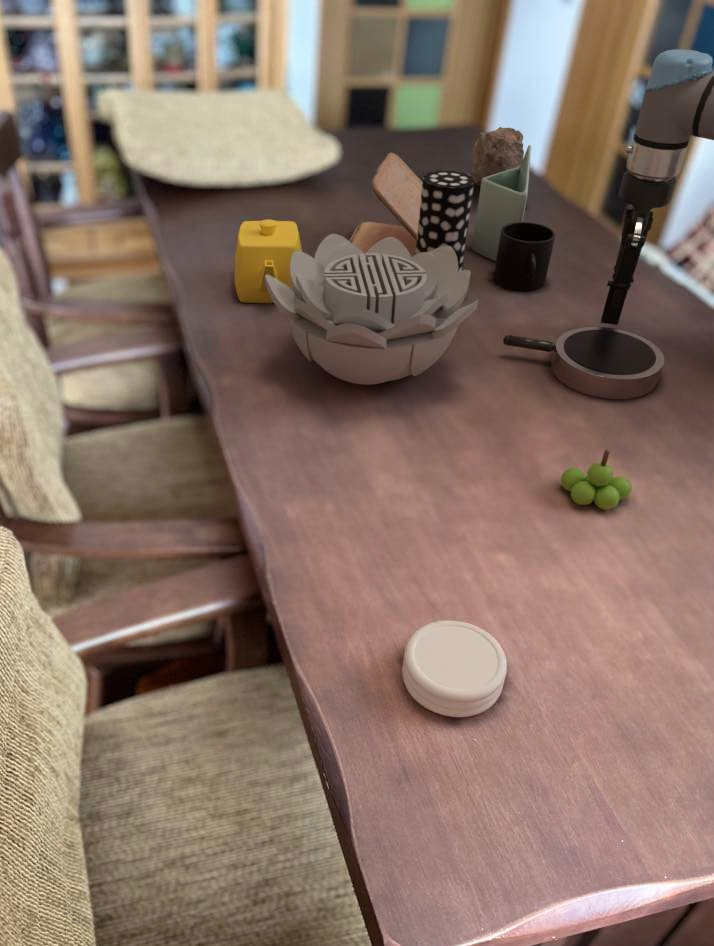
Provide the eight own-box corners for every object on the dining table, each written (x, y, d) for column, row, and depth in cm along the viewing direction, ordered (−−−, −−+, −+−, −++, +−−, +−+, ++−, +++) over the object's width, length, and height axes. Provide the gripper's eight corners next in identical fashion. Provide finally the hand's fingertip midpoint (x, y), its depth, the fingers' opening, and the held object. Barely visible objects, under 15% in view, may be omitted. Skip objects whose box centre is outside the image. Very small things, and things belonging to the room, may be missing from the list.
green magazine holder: (471, 233, 168) (486, 129, 155) (510, 236, 167) (528, 131, 154) (471, 266, 156) (488, 156, 143) (514, 269, 155) (534, 159, 142)
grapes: (628, 492, 105) (645, 444, 100) (627, 518, 101) (644, 470, 96) (559, 479, 107) (572, 431, 102) (556, 505, 103) (569, 456, 98)
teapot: (304, 315, 140) (305, 247, 132) (232, 315, 140) (228, 247, 132) (303, 266, 155) (303, 202, 147) (237, 266, 155) (234, 202, 147)
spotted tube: (465, 291, 148) (482, 176, 134) (446, 309, 142) (462, 191, 129) (423, 281, 151) (435, 167, 138) (403, 298, 146) (414, 181, 132)
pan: (657, 355, 131) (664, 335, 129) (657, 407, 120) (665, 385, 118) (506, 332, 137) (510, 312, 134) (493, 380, 125) (497, 359, 123)
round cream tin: (502, 727, 78) (508, 704, 76) (397, 711, 79) (400, 688, 77) (502, 647, 85) (507, 625, 83) (406, 634, 86) (409, 611, 84)
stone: (532, 213, 177) (546, 138, 167) (488, 215, 176) (500, 140, 166) (499, 178, 193) (510, 108, 183) (458, 180, 192) (467, 109, 182)
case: (445, 281, 151) (456, 192, 140) (334, 267, 155) (337, 179, 144) (460, 239, 166) (472, 155, 155) (359, 227, 170) (363, 145, 159)
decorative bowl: (264, 321, 138) (262, 233, 128) (438, 318, 140) (450, 230, 130) (270, 422, 116) (268, 324, 106) (478, 416, 118) (495, 319, 108)
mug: (501, 298, 146) (510, 248, 140) (488, 269, 155) (496, 221, 149) (554, 298, 146) (565, 248, 140) (538, 269, 155) (548, 221, 149)
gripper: (625, 156, 126) (588, 301, 141) (623, 184, 116) (583, 336, 132) (677, 162, 124) (633, 308, 140) (678, 191, 115) (631, 343, 130)
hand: (609, 321), depth 136 cm, fingers closed
